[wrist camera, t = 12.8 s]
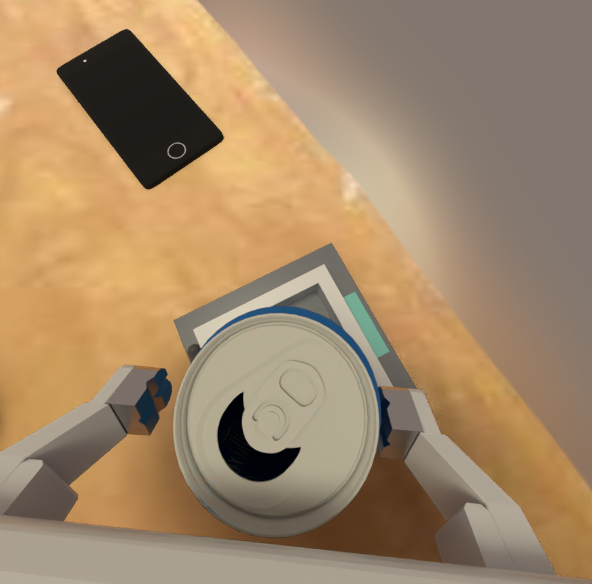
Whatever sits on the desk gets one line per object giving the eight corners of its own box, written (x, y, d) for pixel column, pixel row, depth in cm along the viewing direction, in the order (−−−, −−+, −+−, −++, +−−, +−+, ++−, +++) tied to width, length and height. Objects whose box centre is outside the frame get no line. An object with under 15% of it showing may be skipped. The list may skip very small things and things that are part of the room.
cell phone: (150, 194, 24) (144, 188, 23) (62, 78, 27) (53, 69, 26) (226, 142, 25) (223, 134, 24) (132, 37, 28) (126, 26, 27)
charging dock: (421, 403, 19) (446, 415, 15) (250, 500, 18) (238, 535, 14) (330, 246, 21) (335, 228, 18) (178, 321, 20) (155, 316, 17)
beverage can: (230, 377, 19) (107, 429, 7) (288, 311, 20) (266, 256, 8) (297, 441, 18) (287, 630, 6) (354, 367, 18) (444, 402, 7)
